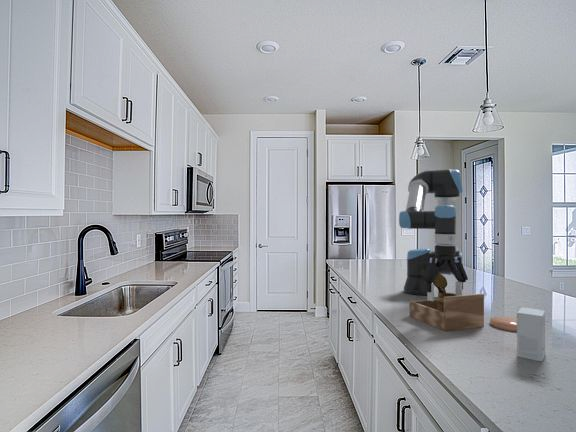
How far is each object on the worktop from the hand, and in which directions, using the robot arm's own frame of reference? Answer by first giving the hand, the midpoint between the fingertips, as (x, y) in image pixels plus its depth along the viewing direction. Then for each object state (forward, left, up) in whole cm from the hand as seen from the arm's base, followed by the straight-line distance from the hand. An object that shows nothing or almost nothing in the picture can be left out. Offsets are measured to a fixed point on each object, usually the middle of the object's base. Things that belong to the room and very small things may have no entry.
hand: (444, 299), depth 142 cm
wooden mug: (0, 0, -9) cm, 9 cm away
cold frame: (0, 0, -8) cm, 8 cm away
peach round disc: (+13, +19, -8) cm, 25 cm away
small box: (+36, -1, -9) cm, 37 cm away
